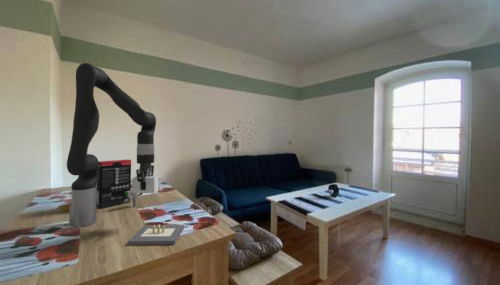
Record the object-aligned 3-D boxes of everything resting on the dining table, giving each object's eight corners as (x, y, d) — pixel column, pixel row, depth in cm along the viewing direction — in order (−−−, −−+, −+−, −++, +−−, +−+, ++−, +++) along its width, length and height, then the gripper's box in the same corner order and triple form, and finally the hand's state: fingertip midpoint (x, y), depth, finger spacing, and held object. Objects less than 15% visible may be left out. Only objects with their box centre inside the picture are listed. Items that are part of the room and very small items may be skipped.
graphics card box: (126, 199, 134) (126, 158, 133) (131, 202, 130) (131, 159, 129) (95, 207, 120) (95, 161, 119) (100, 209, 116) (99, 162, 115)
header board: (128, 244, 80) (128, 240, 80) (144, 228, 94) (144, 225, 94) (174, 244, 81) (174, 240, 81) (184, 228, 95) (184, 225, 94)
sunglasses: (54, 214, 107) (54, 205, 108) (61, 210, 120) (62, 201, 121) (88, 210, 115) (88, 201, 115) (92, 206, 128) (92, 198, 128)
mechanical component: (144, 204, 125) (144, 188, 125) (126, 209, 116) (126, 192, 116) (141, 203, 127) (141, 188, 126) (124, 208, 118) (124, 191, 118)
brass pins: (152, 233, 86) (152, 226, 86) (153, 232, 87) (153, 225, 87) (164, 233, 87) (164, 226, 87) (164, 231, 88) (164, 225, 88)
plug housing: (132, 192, 95) (132, 178, 95) (137, 190, 100) (137, 176, 100) (154, 192, 96) (154, 178, 95) (158, 190, 101) (158, 176, 100)
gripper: (144, 152, 104) (144, 184, 105) (129, 154, 90) (129, 192, 90) (159, 152, 105) (159, 184, 105) (147, 154, 90) (147, 192, 91)
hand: (145, 188), depth 98 cm, fingers closed on plug housing, 5 cm apart
